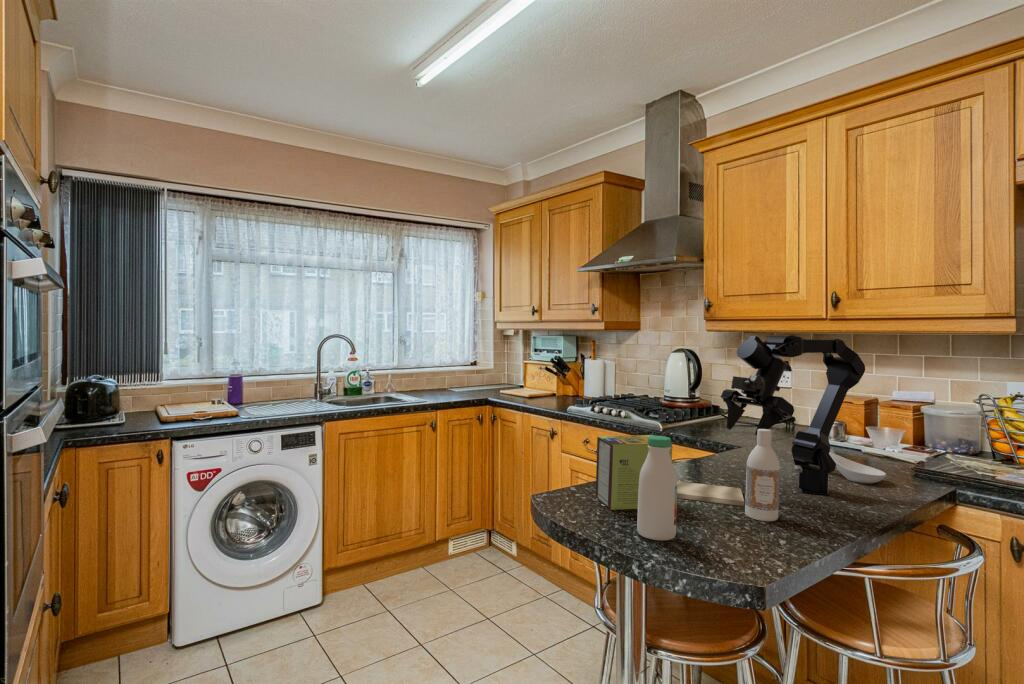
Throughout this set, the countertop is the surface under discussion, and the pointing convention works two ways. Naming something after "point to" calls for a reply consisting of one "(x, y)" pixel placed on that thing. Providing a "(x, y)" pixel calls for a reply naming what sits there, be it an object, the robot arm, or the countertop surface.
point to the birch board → (710, 493)
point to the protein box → (620, 469)
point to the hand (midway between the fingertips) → (742, 432)
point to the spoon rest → (856, 470)
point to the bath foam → (762, 480)
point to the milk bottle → (657, 492)
